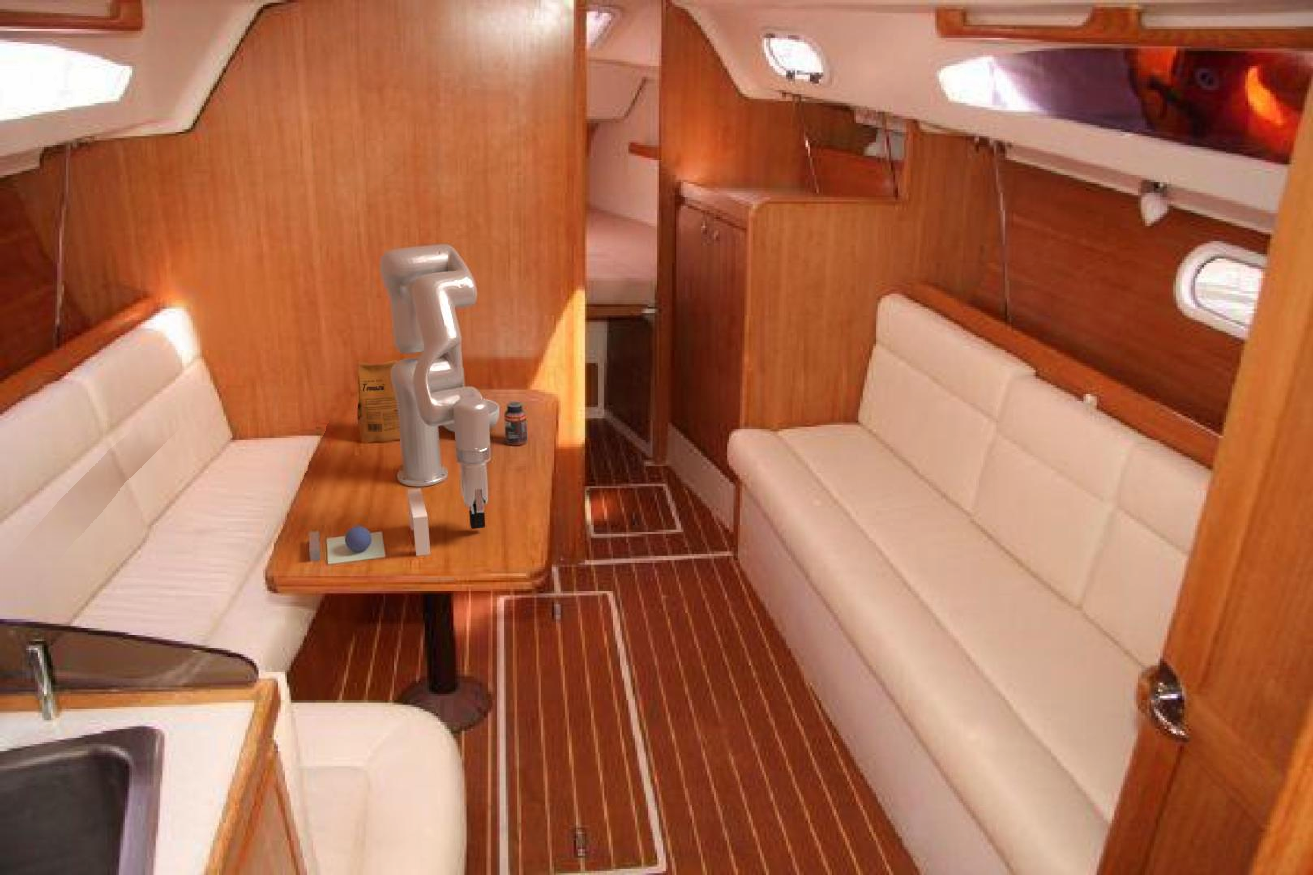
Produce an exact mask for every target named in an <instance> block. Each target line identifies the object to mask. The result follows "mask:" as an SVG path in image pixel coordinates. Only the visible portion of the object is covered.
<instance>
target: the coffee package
mask: <svg viewBox="0 0 1313 875" xmlns="http://www.w3.org/2000/svg"><path fill="white" fill-rule="evenodd" d="M398 361H399V360H397V359H393V360H389V361H386V362H381V363H370V362H369V363H368V362H359V361H358V362H357V380H358V382H357V384H358V402H357V410H356V413H357V414H356V415H357V416H356V418H357V423H358V424H357V425H358V429H359V434H360V435H359V436H360V440H361V441H362V442H363V443H364V444H367V443H368V444H370V443H374V442H381V443H390V442H396V441H400V431H399V420H398V410H397V402H396V397H395V393H394V389H393V385H392V381H391V369H392V367H393V365H394V364H395V363H397V362H398Z"/></svg>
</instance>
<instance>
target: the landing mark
mask: <svg viewBox="0 0 1313 875" xmlns="http://www.w3.org/2000/svg"><path fill="white" fill-rule="evenodd" d="M370 534H371V544H370V545H369V547H368V548H367V549H366V550H364V551H361V552H355V551H352V550H350V549H349V548H348V547H347V545H346V543H345V536H346V535H344V536H342V535H341V536H336V537H327V538H326V551H327V565H328V566H329V565H336V564H337V565H338V564H344V563H352V562H360V561H367V560H375V559H376V560H377V559H381V558H382V559H383V558H386V552H385V545H384V539H383V538H384V537H383V531H376V532H370Z"/></svg>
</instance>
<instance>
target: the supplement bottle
mask: <svg viewBox="0 0 1313 875" xmlns="http://www.w3.org/2000/svg"><path fill="white" fill-rule="evenodd" d="M506 406H507V410H506V411H504V414H503V415H504V435H505V443H506V444H507V445H509V446H517V447H518V446H522V445H525V444H526V443H527V442H528V428H527V427H528V425H527V413H526V411H525V410H524V409H523V403H522V402H520V401H511V402H510V401H509V402H508V403H507V405H506Z"/></svg>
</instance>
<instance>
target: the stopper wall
mask: <svg viewBox="0 0 1313 875" xmlns="http://www.w3.org/2000/svg"><path fill="white" fill-rule="evenodd" d="M319 532H320V531H319V530H317V531H310V532H308V539H309V540H308V541H309V543H308V545H309V558H310V562H317V561H321V540H320V533H319Z"/></svg>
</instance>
